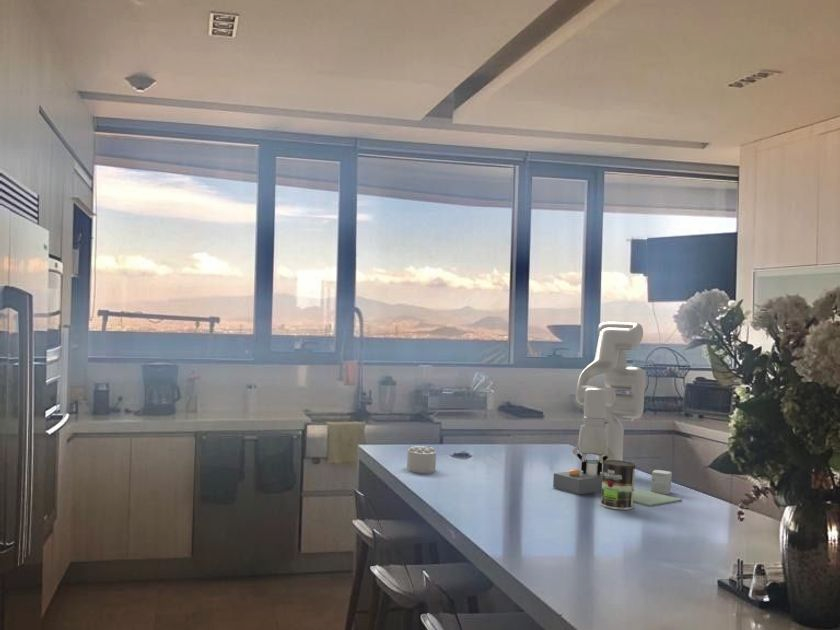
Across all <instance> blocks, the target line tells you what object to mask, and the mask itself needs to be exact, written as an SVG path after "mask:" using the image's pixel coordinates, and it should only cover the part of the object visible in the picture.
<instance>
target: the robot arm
mask: <svg viewBox="0 0 840 630" xmlns="http://www.w3.org/2000/svg"><path fill="white" fill-rule="evenodd" d="M597 332H598V339H597V343H596V349H595V354H594V358H593V361H591V363H589V364H587V366H585V368H584V369H583V370H582V372H581V373H579V376H578V380H577V385H576V389H575V400H576V402H577V404H579V405H581V406H583V419H582V420H583V421H582V423H583V424H581V425H580V426H579V427H580V428H579V433H578V441H577V442H578V443H577V444H576V446H574V448H573V449H572V450H571V452H572V453H573V454H574V455H575V456H576V457H578V459H579V460H580V462H581V467H580V468H581V470H582V471H583V473H586V459H587V458H586V457H587V455H597V460H598V474H599V475H600V473H603V461H605V460H619V461H624V460H623V454H624V436H625V435H624V433H625V432H624V431H625V430H624V426H623V424H622V422H621V421H620V419H619V418H624V419H625V418H626V419H640V418H641V417H642V416H643V414H644V408H645V407H644V404H645V391H646V390H645V389H646V375H645V371H644V370H643V368H641V367H639V366H631V365H630V366H629V365H627V361H628V360H627V358H628V352H627V351H636V349H637V348H638V346H639V345H640V344H641V342H642V340H643V337H644V329H643V325H642V324H641V323H638V322H630V321H629V322H627V321H613V320H612V321H602V322H601V323H599V324H598V327H597ZM599 375H600V376H601V375H603V384H604V385H595V384H594V385H593V384H588V382H589V381H590V380H591V379H593V378H595V377H597V376H599ZM615 390H621V391H622V390H623V391H630V392H631V393H623V392H616V391H615ZM626 462H629V461H628V460H626ZM581 470H580V471H581Z"/></svg>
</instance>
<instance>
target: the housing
mask: <svg viewBox="0 0 840 630" xmlns="http://www.w3.org/2000/svg"><path fill="white" fill-rule="evenodd" d="M602 477H603V473H600V475H599V474H598V475H595V476H591V475H587V474H585V473H583V471H582V470H580V475H578V476H577V477H573V476H571V475H570V474H569V471H564V472H556V473H555V472H554V473H553V483H552V484H553V485H552V488H554V489H557V490H561V491H565V492H569V493H572V494H576V495H583V494H584V495H585V494H591V493H600V492H602Z"/></svg>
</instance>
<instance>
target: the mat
mask: <svg viewBox="0 0 840 630" xmlns="http://www.w3.org/2000/svg"><path fill="white" fill-rule="evenodd" d="M678 502H683V499H682V498H678V497H674V496H670V495H667V494H661V493H654V492H651V490H650V491H649V490H645V489H641V488H636V489H635V488H634V493H633V504H634V503H635V504H638V505H642V506H645V507H653V506H659V505H666V504H672V503H678Z"/></svg>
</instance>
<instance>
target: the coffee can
mask: <svg viewBox="0 0 840 630" xmlns="http://www.w3.org/2000/svg"><path fill="white" fill-rule="evenodd" d="M626 461H627V460H626ZM626 461H625V460H623V461H619V460H605V461H603V477H602V491H601V496H600V506H601V507H604V508H606V509H611V510H612V509H613V510H620V511H627V510H629V509H630V510H632V509H634V507H633V505H634V502H633V493H634V489H635V474H636V472H635V471H636V464H635V463H634V462H631V461H630V462H629V461H628V462H626Z"/></svg>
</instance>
